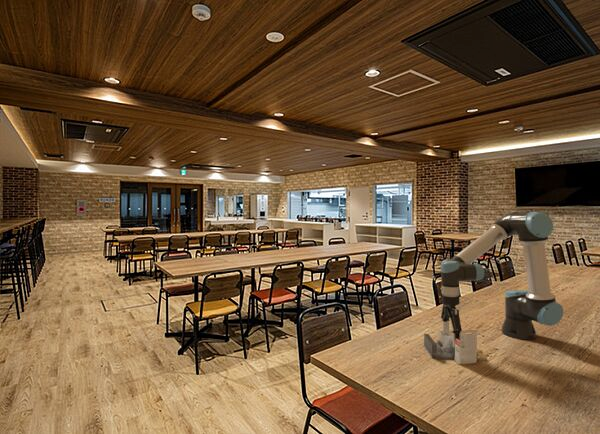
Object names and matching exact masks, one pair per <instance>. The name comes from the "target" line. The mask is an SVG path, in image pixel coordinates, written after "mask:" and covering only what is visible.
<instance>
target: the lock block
mask: <svg viewBox="0 0 600 434" xmlns="http://www.w3.org/2000/svg"><path fill="white" fill-rule="evenodd" d="M452 331H453V330H449V331H443V330H438V340H437V342H438V344H439V346H440V348H441V349H442V350H443V351H455V347H453V333H452Z"/></svg>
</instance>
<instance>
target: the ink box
mask: <svg viewBox="0 0 600 434" xmlns="http://www.w3.org/2000/svg"><path fill="white" fill-rule="evenodd" d="M477 350H478V329H477V330H476V329H475V330H462V331H460V339H455V359H454V362H456V363H457V364H458V365H472V364H477V360H478V359H477V357H478V356H477Z"/></svg>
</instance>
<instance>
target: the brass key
mask: <svg viewBox="0 0 600 434" xmlns="http://www.w3.org/2000/svg"><path fill="white" fill-rule="evenodd" d="M477 357H478V358H479V359H481V361H486V362H487V361H488V357H487V355H485V354H484V353H483V351H482V350H480V349H477Z"/></svg>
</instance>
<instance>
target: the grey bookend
mask: <svg viewBox="0 0 600 434" xmlns="http://www.w3.org/2000/svg"><path fill="white" fill-rule="evenodd" d="M423 347H424V348H425V349H426V352H427V353H428V354H429V356H430V357H431V358H432V359H442V360H443V359H449V360H455V351H443V350H442V349H441V348H440V346H439V344H438V341H437V342H435V340H434V339H433V338H432V337H431V335H430V334H429V333H423Z"/></svg>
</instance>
